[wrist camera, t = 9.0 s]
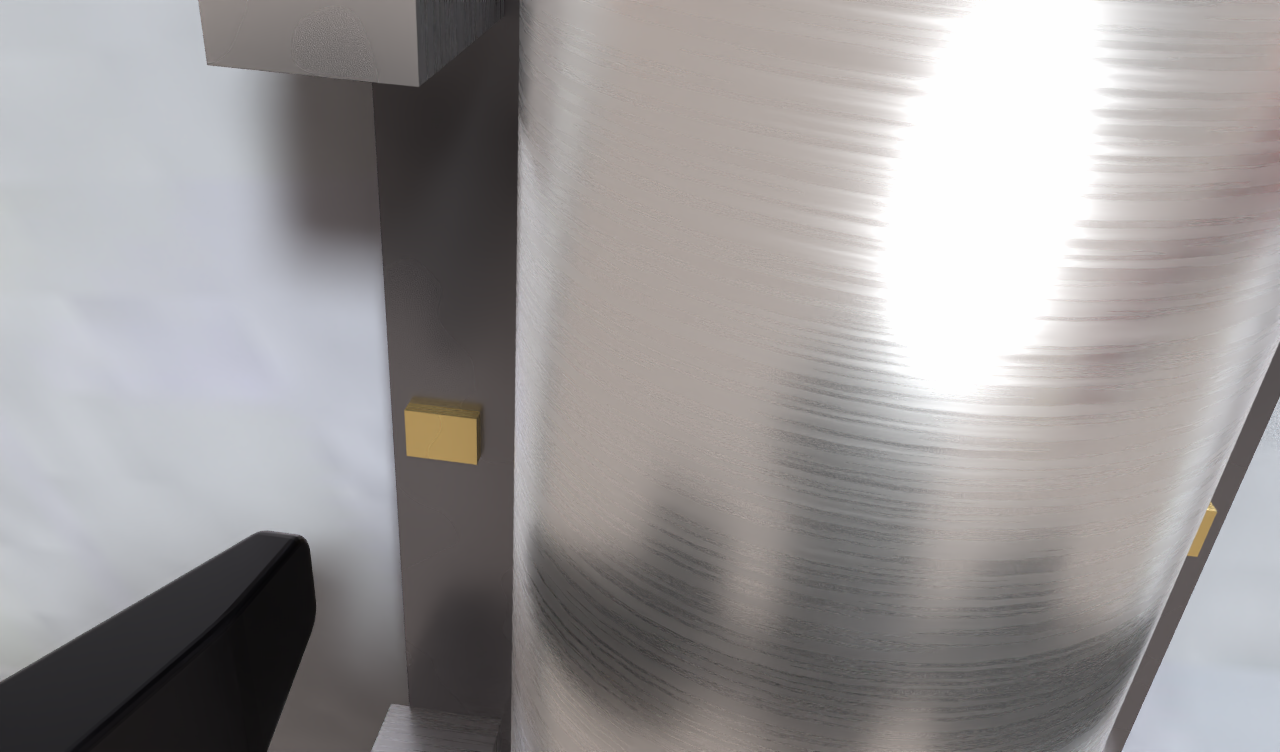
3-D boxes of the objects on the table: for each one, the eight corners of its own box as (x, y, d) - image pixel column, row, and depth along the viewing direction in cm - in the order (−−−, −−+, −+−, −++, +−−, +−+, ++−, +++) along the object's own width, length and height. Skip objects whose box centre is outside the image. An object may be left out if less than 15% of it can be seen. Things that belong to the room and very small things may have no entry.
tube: (617, -484, 7) (358, -859, 3) (1344, -439, 7) (2199, -799, 3) (553, 885, 15) (456, 1307, 11) (890, 943, 15) (924, 1407, 11)
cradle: (998, 977, 17) (1045, 1237, 14) (426, 887, 17) (352, 1117, 14) (1740, -766, 7) (2518, -1213, 4) (333, -826, 7) (25, -1248, 4)
